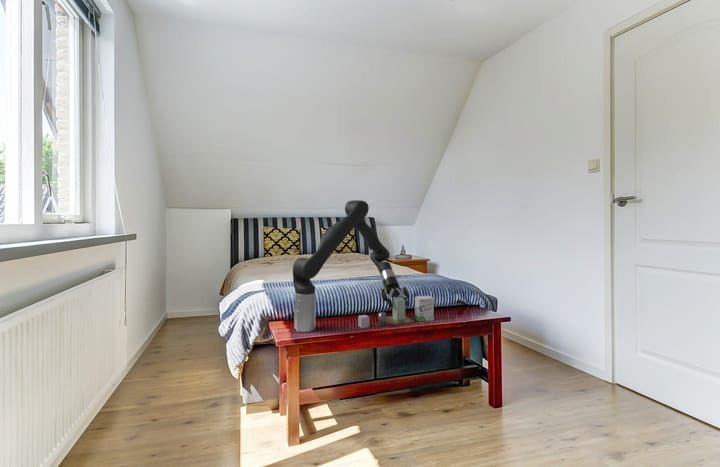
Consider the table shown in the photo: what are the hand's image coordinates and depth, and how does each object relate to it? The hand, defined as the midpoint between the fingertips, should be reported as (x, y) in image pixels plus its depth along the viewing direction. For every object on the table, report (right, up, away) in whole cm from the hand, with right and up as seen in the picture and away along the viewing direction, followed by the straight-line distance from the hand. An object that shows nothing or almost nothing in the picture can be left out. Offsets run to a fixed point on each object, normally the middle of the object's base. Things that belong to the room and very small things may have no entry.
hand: (399, 306), depth 196 cm
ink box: (+13, -8, +3) cm, 15 cm away
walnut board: (0, -8, +1) cm, 8 cm away
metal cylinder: (-9, -8, -7) cm, 14 cm away
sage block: (0, -7, +1) cm, 7 cm away
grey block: (-18, -8, -8) cm, 21 cm away
